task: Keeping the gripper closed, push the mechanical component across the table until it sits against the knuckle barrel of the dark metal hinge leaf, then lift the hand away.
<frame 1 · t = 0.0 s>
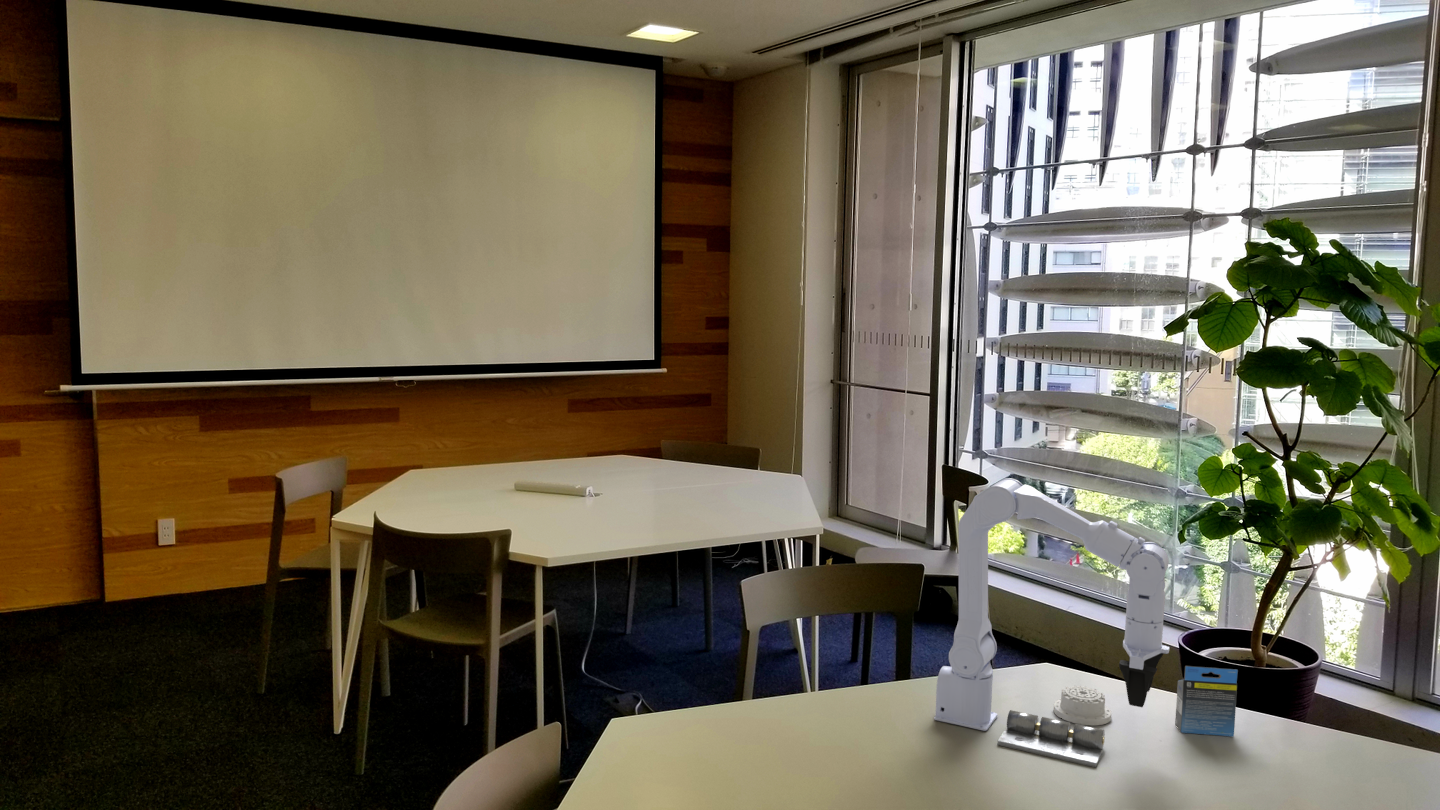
hand: (1139, 697, 170), 10 cm above the table, tool pointing down, fingers open, 7 cm apart
hinge leaf: (1049, 749, 173), on the table
mechanical component: (1081, 716, 188), on the table
blue ink cartridge box: (1203, 732, 182), on the table
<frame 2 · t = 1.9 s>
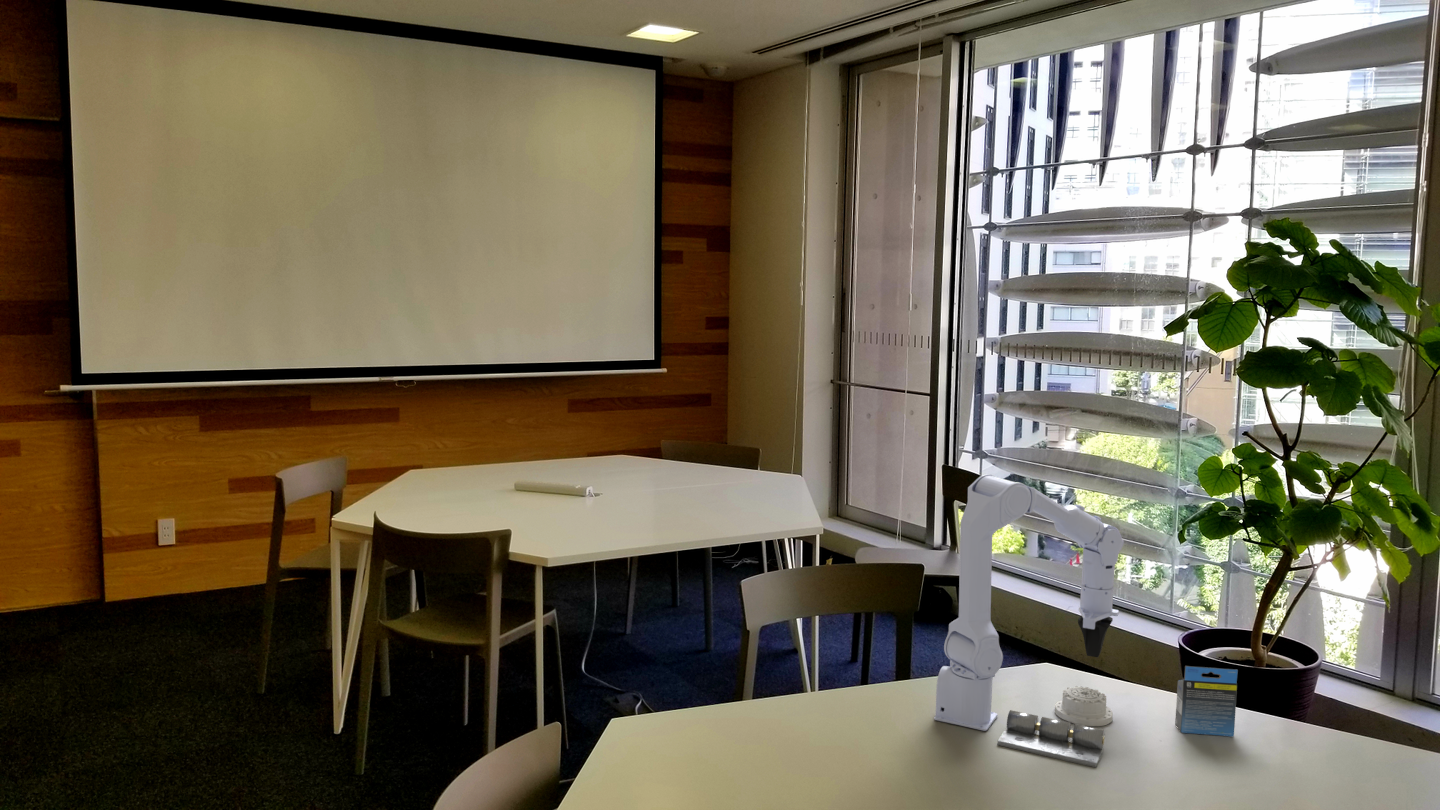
hand: (1093, 655, 195), 8 cm above the table, tool pointing down, fingers closed
nothing on the table moved.
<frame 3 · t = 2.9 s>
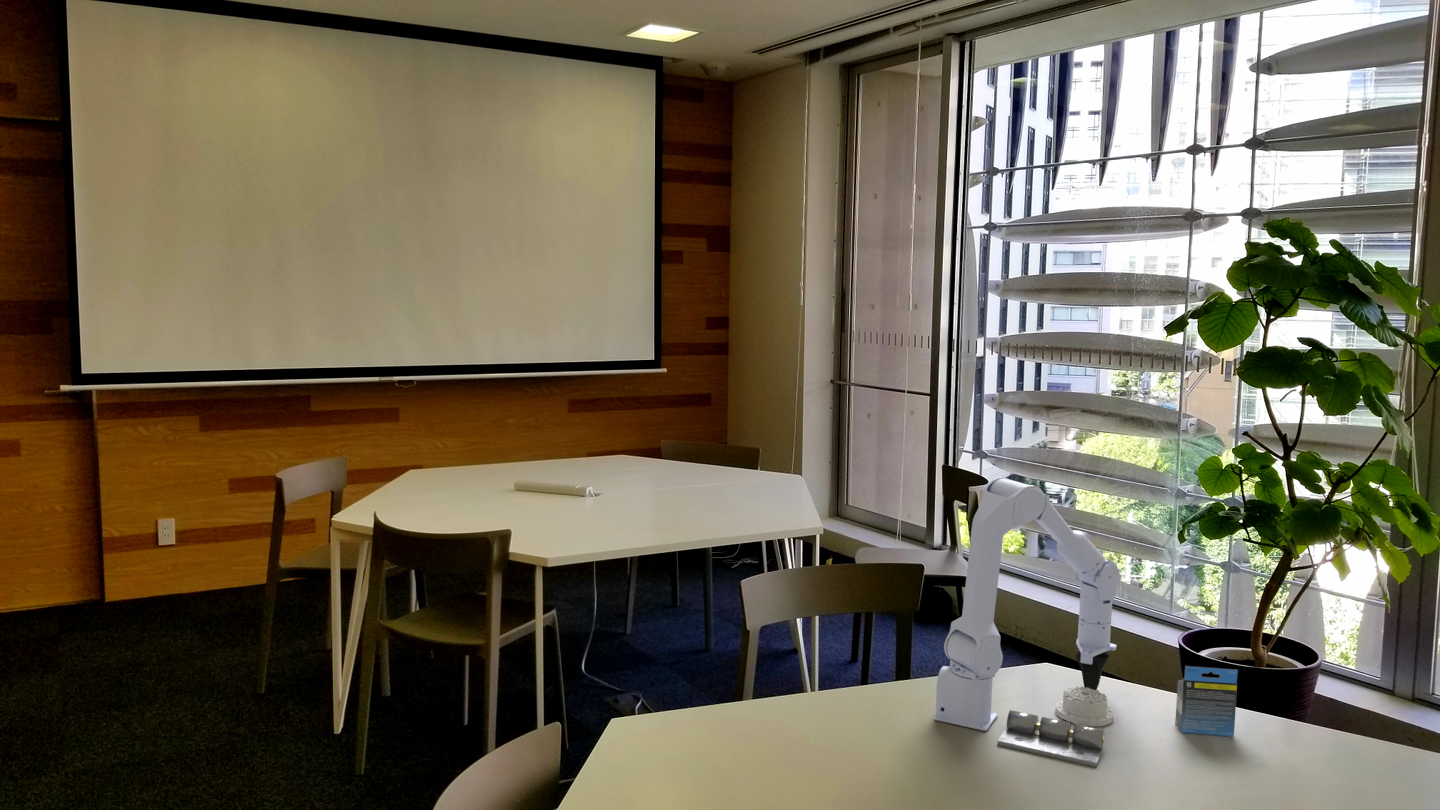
hand: (1090, 689, 195), 2 cm above the table, tool pointing down, fingers closed
nothing on the table moved.
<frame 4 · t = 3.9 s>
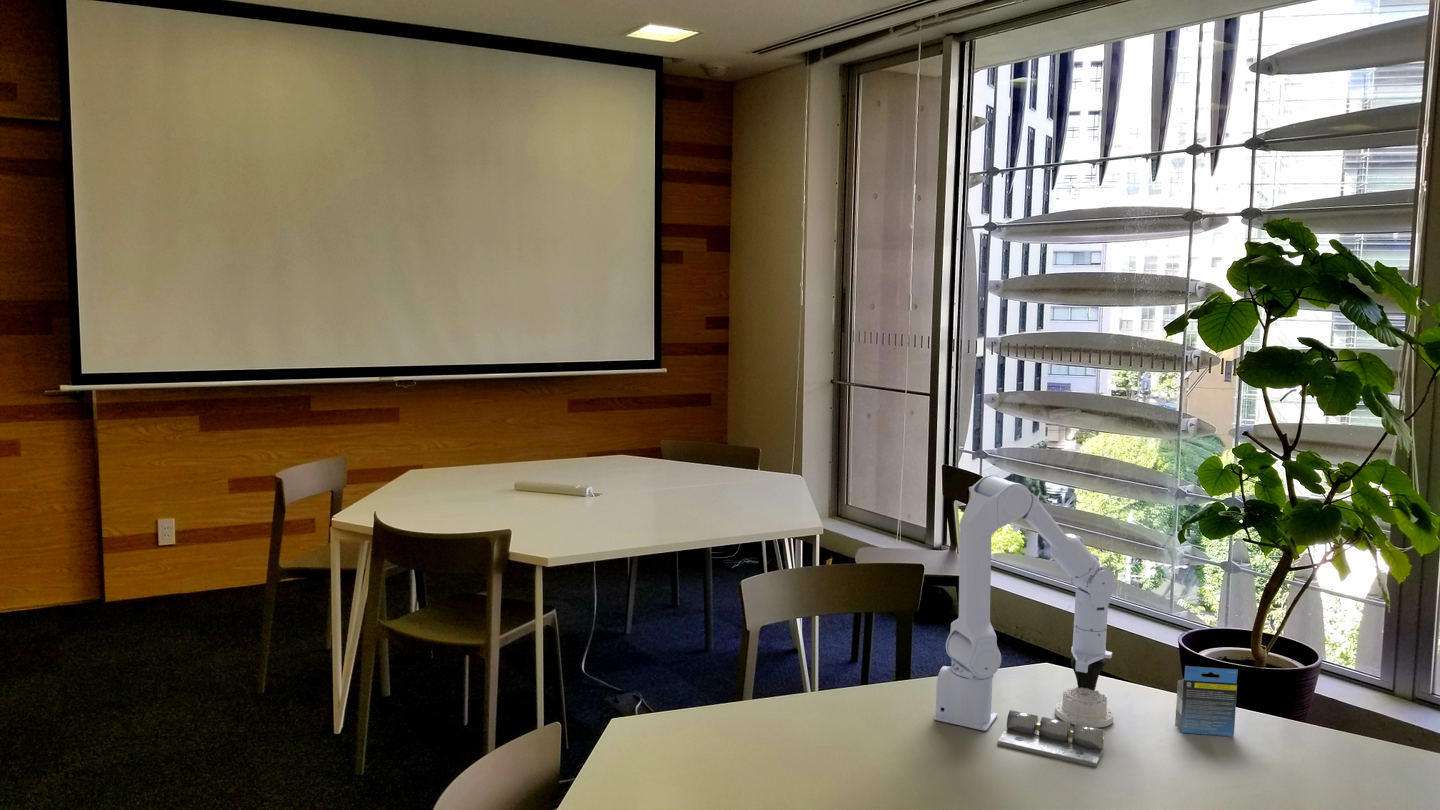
hand: (1086, 697, 191), 2 cm above the table, tool pointing down, fingers closed
mechanical component: (1083, 718, 187), on the table, touching gripper
everything else where it was.
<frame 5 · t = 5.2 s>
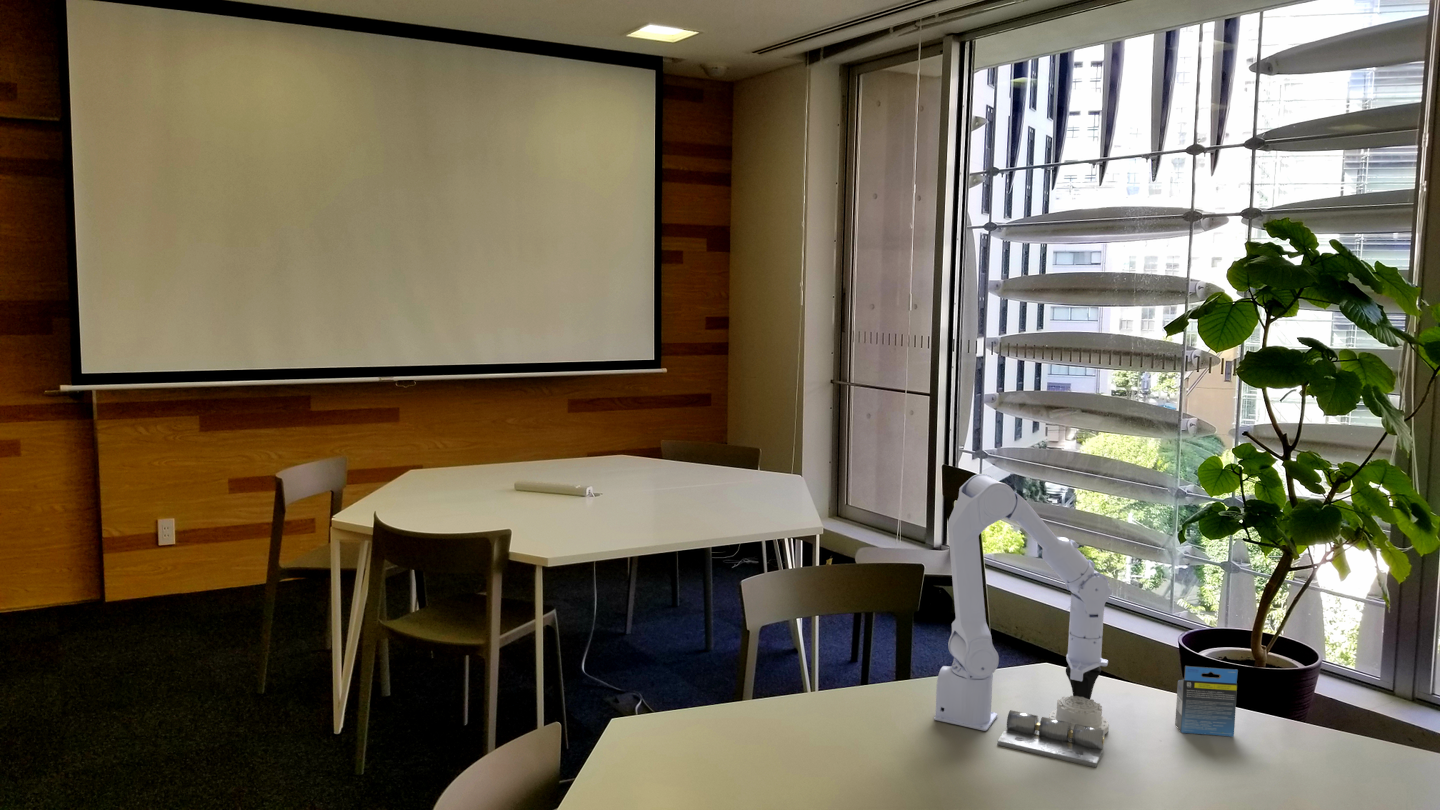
hand: (1081, 706, 187), 2 cm above the table, tool pointing down, fingers closed
mechanical component: (1078, 728, 183), on the table, touching gripper
everything else where it was.
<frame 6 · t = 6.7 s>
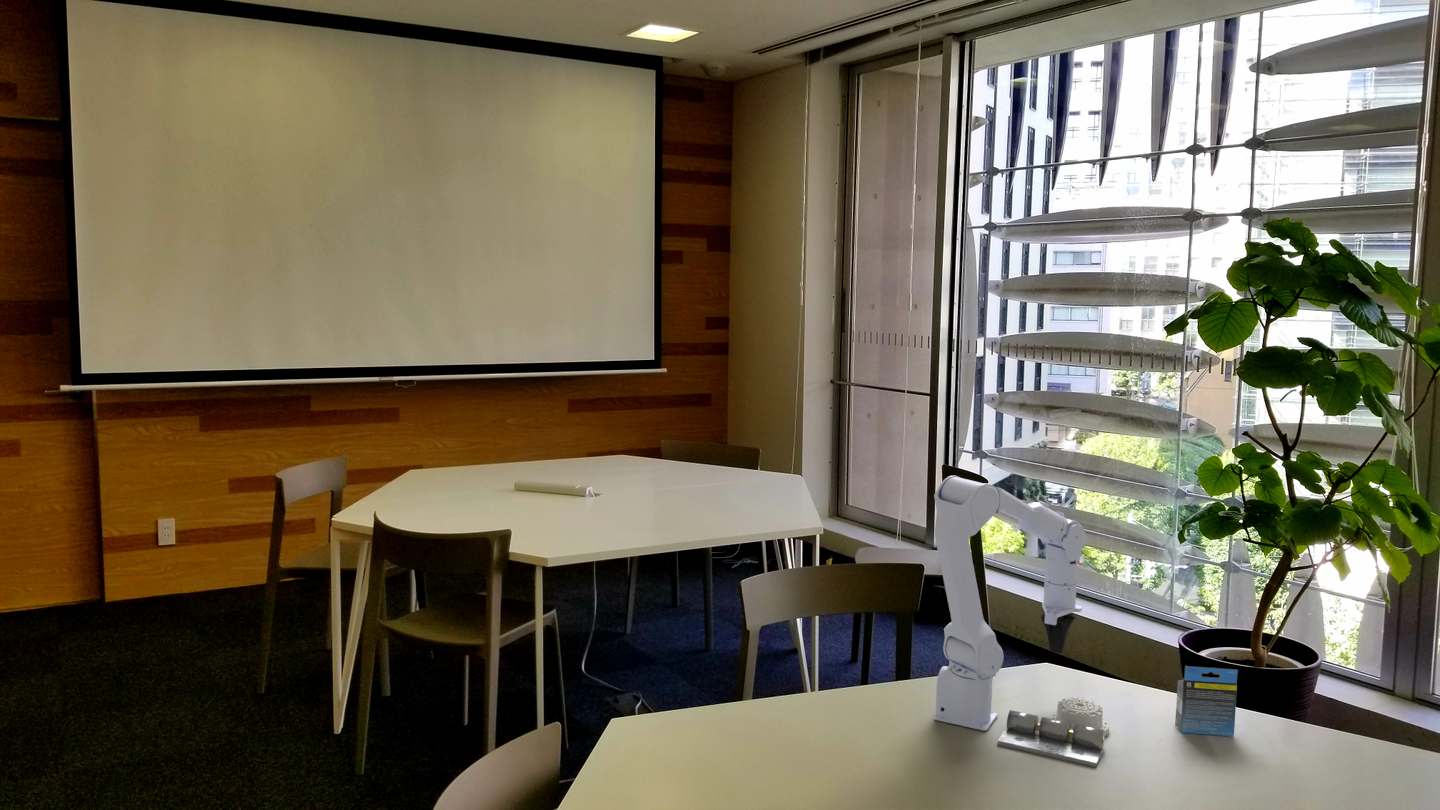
hand: (1056, 651, 194), 9 cm above the table, tool pointing down, fingers closed
mechanical component: (1078, 729, 183), on the table
everything else where it was.
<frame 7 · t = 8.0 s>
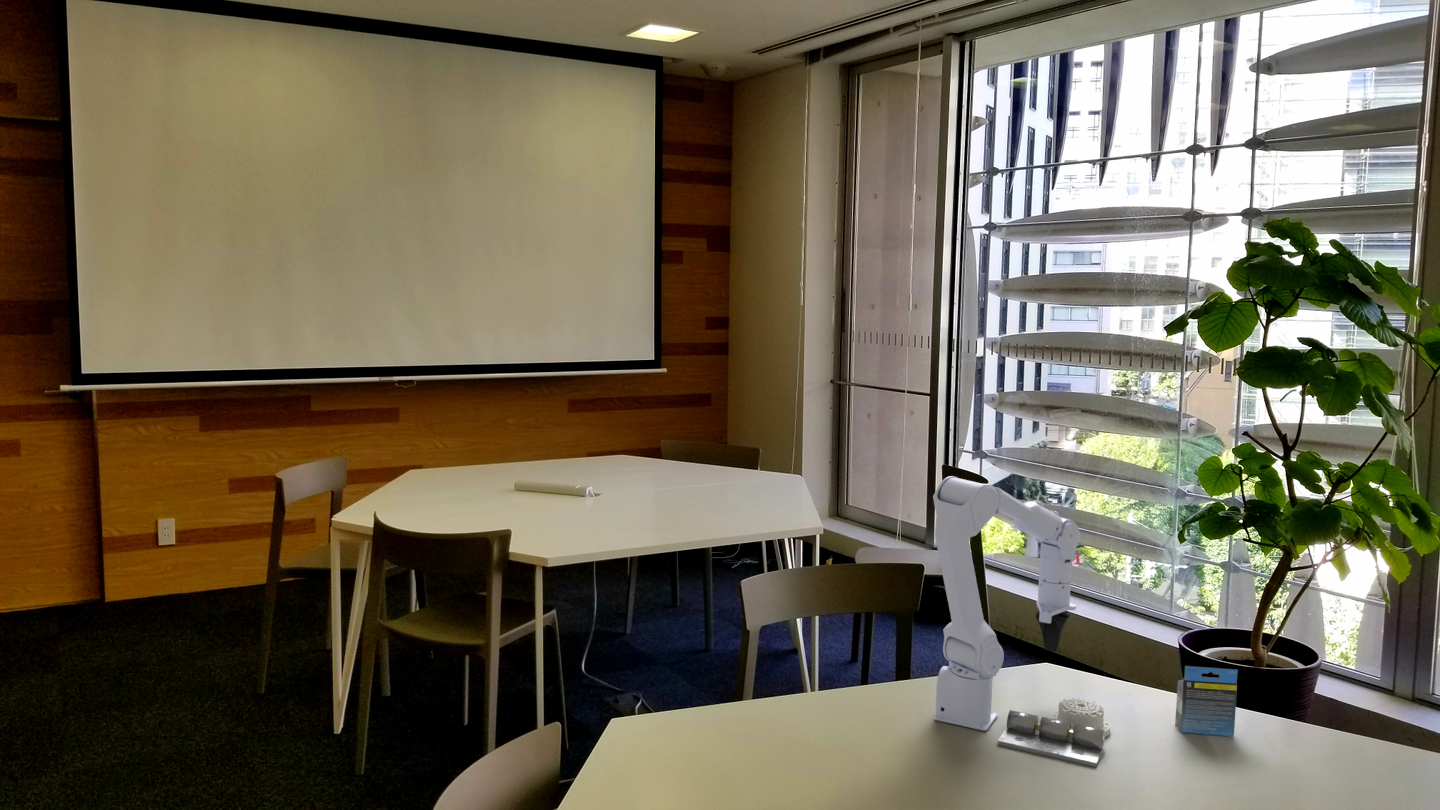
hand: (1051, 649, 195), 9 cm above the table, tool pointing down, fingers closed
nothing on the table moved.
at the end: mechanical component inside the target area (0.9 cm from its centre), on the table; mechanical component moved 6.3 cm from its start; mechanical component tilted 0° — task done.
